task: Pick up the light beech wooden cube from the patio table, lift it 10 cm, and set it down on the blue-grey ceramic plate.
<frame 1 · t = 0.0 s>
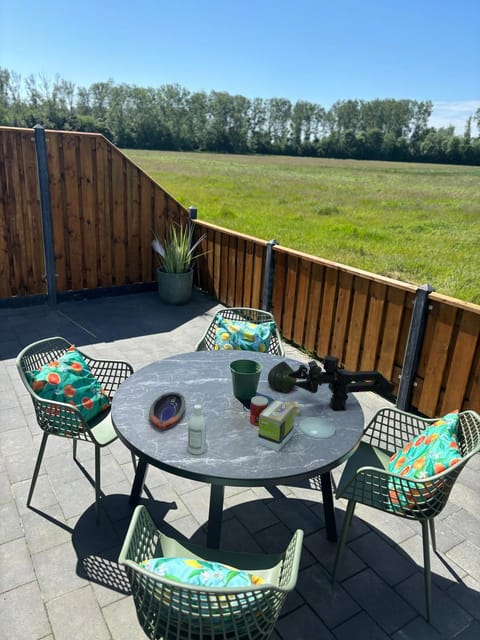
hand: (290, 379, 213), 17 cm above the table, tool horizontal, fingers open, 9 cm apart
ceramic plate: (317, 428, 204), on the table
canned food: (258, 422, 208), on the table
beech cube: (292, 413, 216), on the table
bath foam: (196, 450, 185), on the table
dish: (167, 415, 209), on the table
squash: (281, 388, 240), on the table
tea box: (275, 440, 195), on the table
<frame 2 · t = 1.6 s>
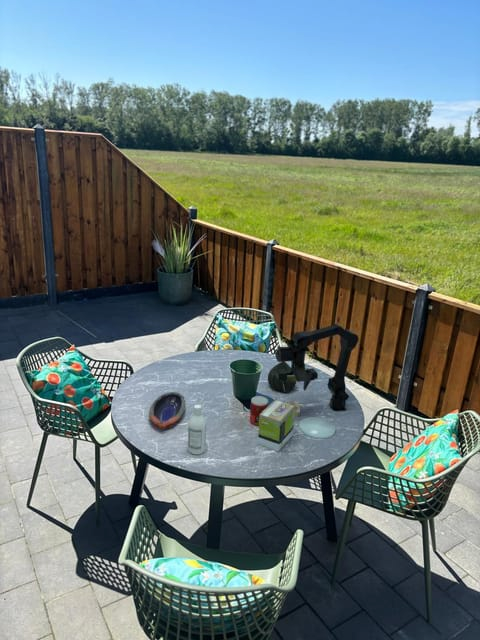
hand: (294, 390, 212), 12 cm above the table, tool pointing down, fingers open, 9 cm apart
nothing on the table moved.
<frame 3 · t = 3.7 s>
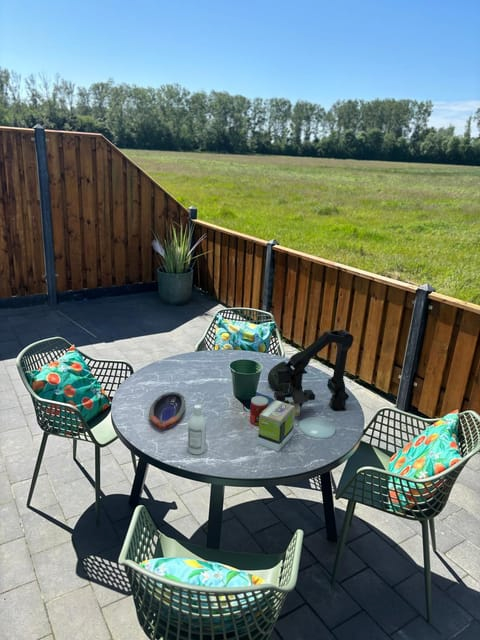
hand: (292, 411, 215), 1 cm above the table, tool pointing down, fingers closed on beech cube, 5 cm apart
beech cube: (292, 413, 216), on the table, touching gripper
everything else where it was.
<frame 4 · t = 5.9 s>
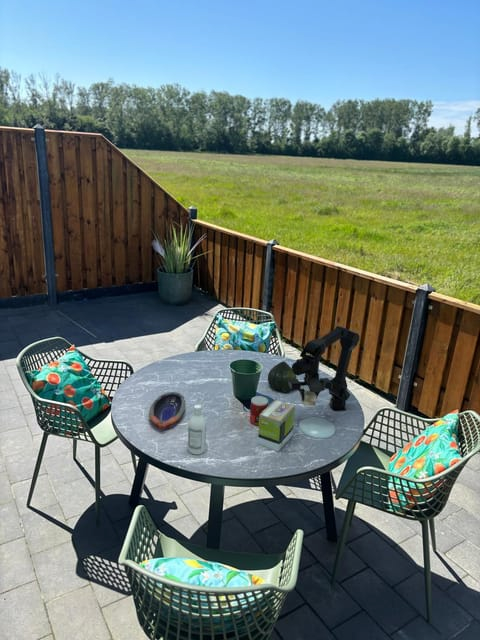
hand: (308, 400, 206), 11 cm above the table, tool pointing down, fingers closed on beech cube, 5 cm apart
beech cube: (308, 402, 206), point 10 cm above the table, touching gripper
everything else where it was.
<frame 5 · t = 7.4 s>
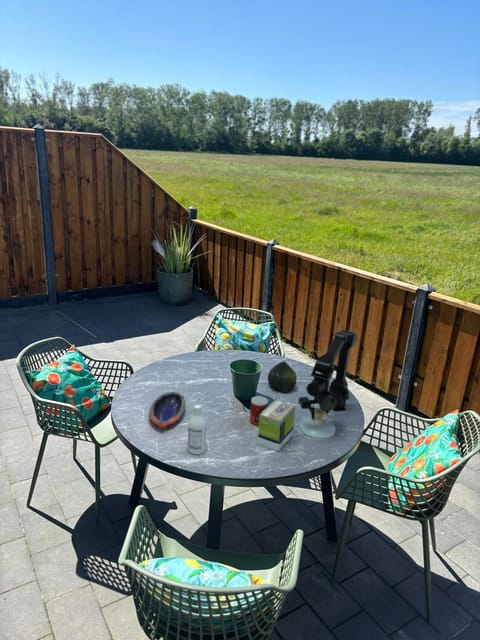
hand: (318, 418, 203), 5 cm above the table, tool pointing down, fingers closed on beech cube, 5 cm apart
beech cube: (318, 420, 203), point 4 cm above the table, touching gripper
everything else where it was.
when the fingers open (3 cm above the table, at t = 8.5 s): beech cube drops 1 cm, resting on ceramic plate.
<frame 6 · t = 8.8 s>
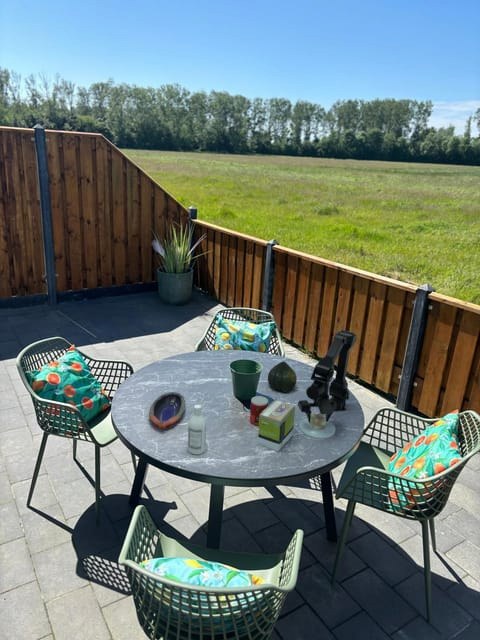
hand: (317, 421, 203), 3 cm above the table, tool pointing down, fingers open, 8 cm apart
beech cube: (317, 426, 204), point 1 cm above the table, touching ceramic plate
everything else where it was.
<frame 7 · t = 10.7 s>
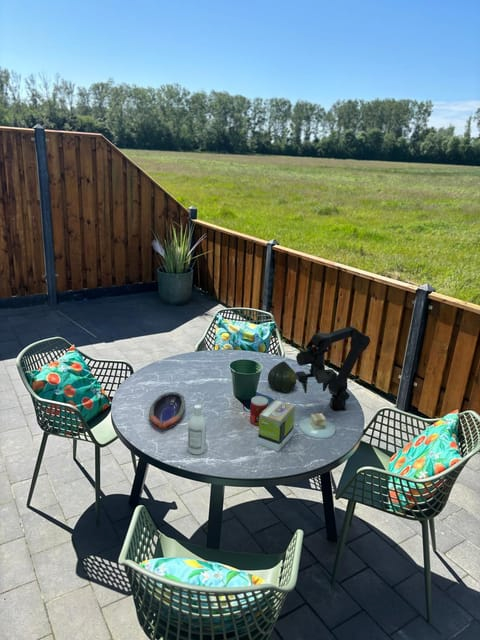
hand: (314, 392, 212), 12 cm above the table, tool pointing down, fingers open, 9 cm apart
nothing on the table moved.
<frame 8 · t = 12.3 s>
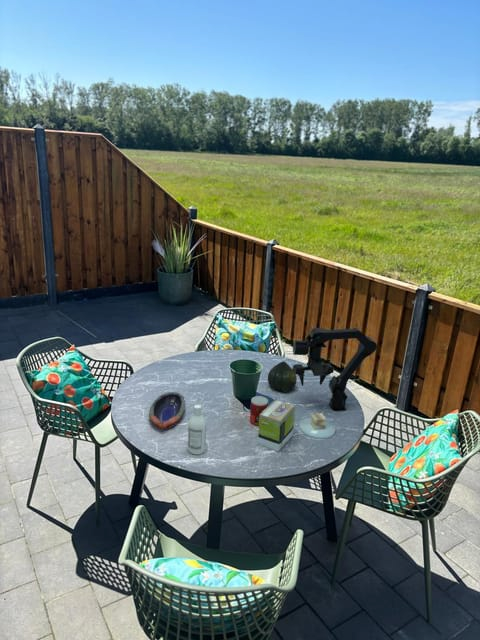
hand: (311, 385, 219), 12 cm above the table, tool pointing down, fingers open, 9 cm apart
nothing on the table moved.
at the end: beech cube inside the target area on the ceramic plate (0.0 cm from its centre), point 1.2 cm above the ceramic plate's base; beech cube tilted 0°; the gripper is holding nothing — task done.
